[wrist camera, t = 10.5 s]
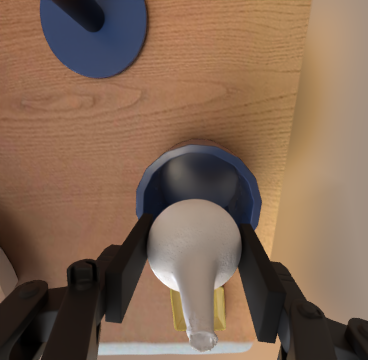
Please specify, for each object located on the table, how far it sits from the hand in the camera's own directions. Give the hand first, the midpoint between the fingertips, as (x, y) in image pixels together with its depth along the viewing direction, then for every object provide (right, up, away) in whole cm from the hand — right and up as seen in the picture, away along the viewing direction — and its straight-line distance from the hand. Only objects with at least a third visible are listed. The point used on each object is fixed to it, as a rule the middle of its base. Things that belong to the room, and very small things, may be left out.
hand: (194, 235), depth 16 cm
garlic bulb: (0, 0, 0) cm, 0 cm away
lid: (-12, +24, +11) cm, 29 cm away
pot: (+1, +4, +16) cm, 17 cm away
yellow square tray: (+2, -17, +21) cm, 27 cm away
